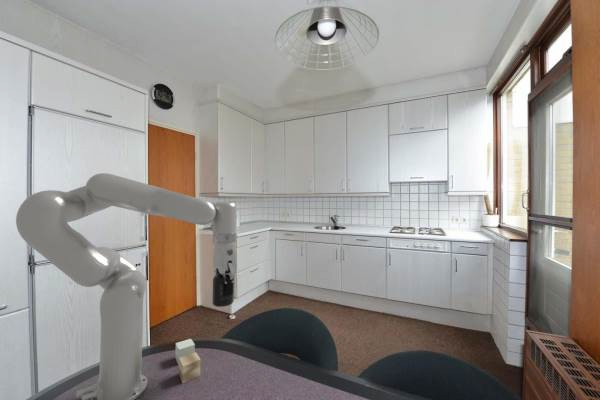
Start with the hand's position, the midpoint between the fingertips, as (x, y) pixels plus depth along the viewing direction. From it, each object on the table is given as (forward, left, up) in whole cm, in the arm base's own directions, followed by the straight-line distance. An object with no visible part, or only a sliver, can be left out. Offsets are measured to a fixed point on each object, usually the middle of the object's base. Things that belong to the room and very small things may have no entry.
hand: (223, 291), depth 81 cm
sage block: (-9, +11, -24) cm, 28 cm away
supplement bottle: (0, 0, -4) cm, 4 cm away
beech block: (-10, +1, -24) cm, 26 cm away
